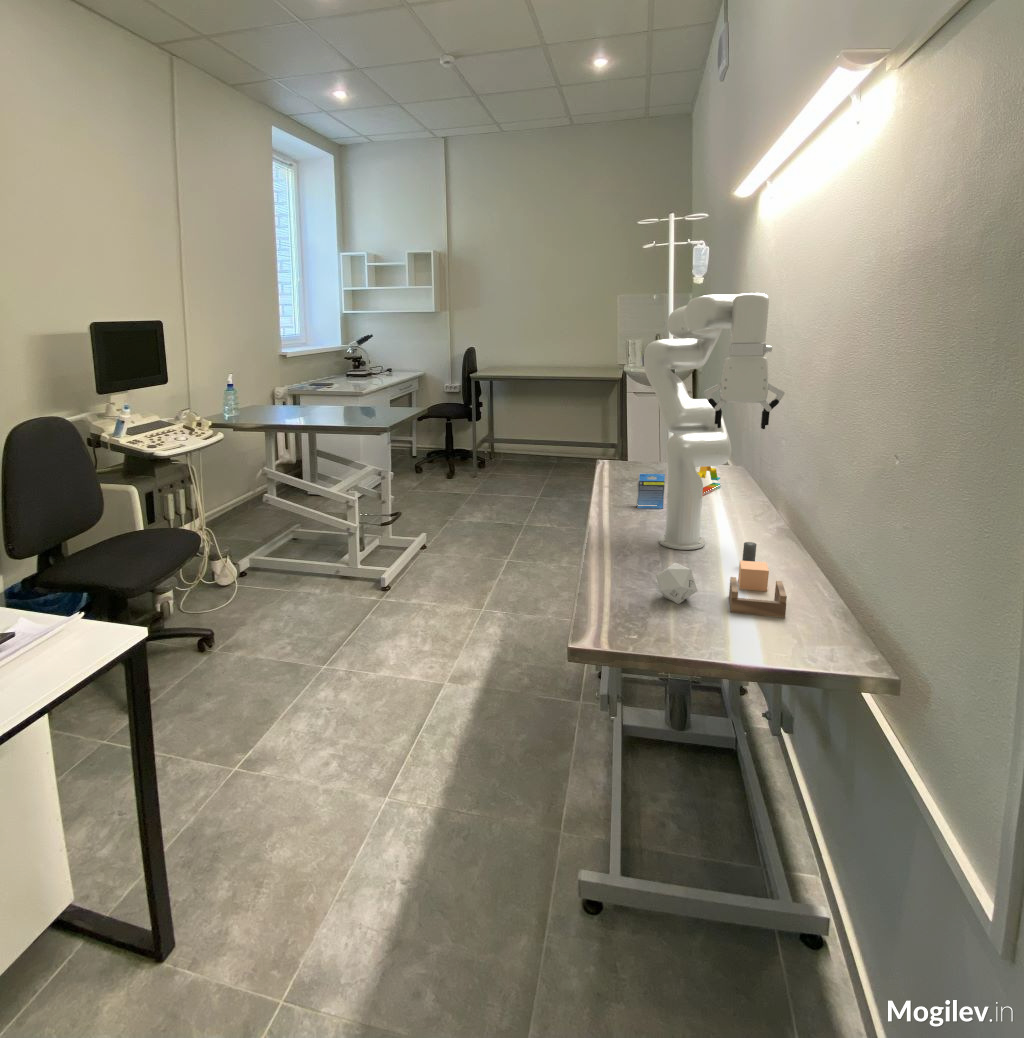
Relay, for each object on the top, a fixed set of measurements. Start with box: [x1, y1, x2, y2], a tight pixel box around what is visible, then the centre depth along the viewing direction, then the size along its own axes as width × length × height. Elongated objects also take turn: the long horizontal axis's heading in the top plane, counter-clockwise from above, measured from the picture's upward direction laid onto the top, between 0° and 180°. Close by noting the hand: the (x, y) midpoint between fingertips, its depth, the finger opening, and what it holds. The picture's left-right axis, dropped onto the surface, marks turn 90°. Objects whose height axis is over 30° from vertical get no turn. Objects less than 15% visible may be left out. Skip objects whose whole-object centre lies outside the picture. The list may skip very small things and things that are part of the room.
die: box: [656, 562, 698, 605], centre depth 146 cm, size 8×9×10 cm
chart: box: [697, 466, 722, 497], centre depth 242 cm, size 30×3×15 cm, turn 142°
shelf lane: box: [728, 576, 788, 618], centre depth 142 cm, size 10×11×4 cm
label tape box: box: [636, 473, 666, 509], centre depth 225 cm, size 9×4×12 cm, turn 84°
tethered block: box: [737, 541, 770, 592], centre depth 160 cm, size 18×6×6 cm, turn 164°
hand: (740, 427), depth 151 cm, fingers open, 9 cm apart
